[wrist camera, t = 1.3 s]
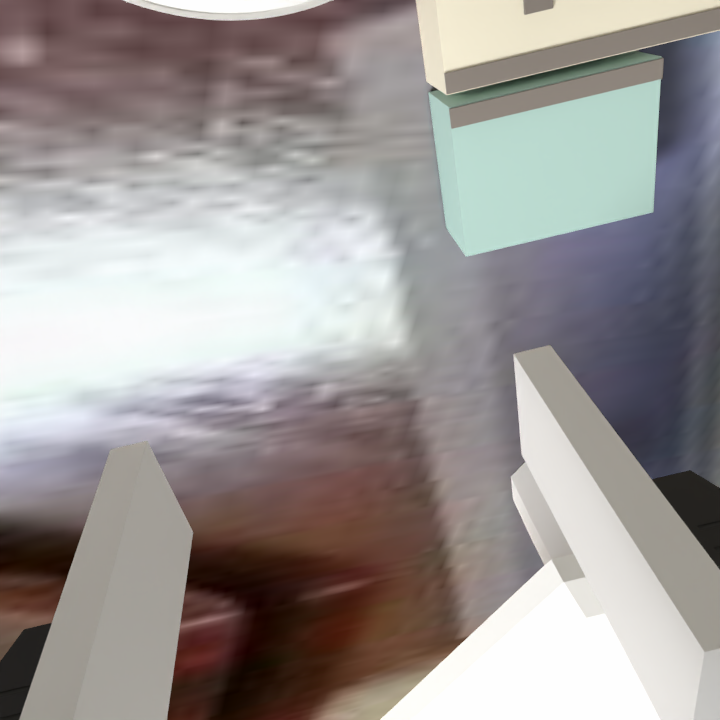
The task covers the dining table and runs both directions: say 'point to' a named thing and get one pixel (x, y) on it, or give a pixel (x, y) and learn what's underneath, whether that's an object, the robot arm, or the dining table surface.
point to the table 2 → (536, 647)
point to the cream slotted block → (545, 34)
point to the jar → (228, 8)
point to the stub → (548, 151)
